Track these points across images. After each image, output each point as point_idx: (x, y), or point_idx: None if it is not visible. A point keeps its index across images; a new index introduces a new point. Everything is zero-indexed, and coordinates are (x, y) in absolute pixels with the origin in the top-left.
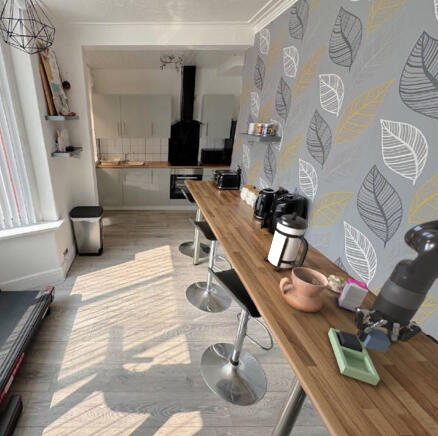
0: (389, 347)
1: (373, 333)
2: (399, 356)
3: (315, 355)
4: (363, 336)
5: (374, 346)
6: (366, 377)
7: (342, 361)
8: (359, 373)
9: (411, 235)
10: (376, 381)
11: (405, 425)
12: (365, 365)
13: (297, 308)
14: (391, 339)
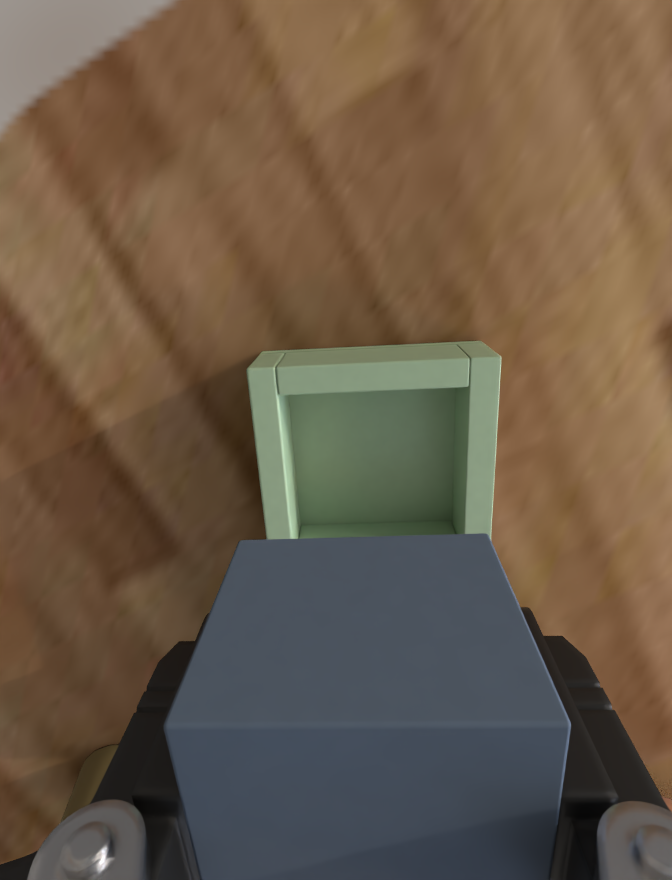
0: (168, 652)
1: (449, 845)
2: (68, 662)
3: (631, 428)
4: (571, 701)
5: (391, 576)
6: (332, 358)
7: (496, 418)
8: (387, 359)
9: None
10: (265, 358)
11: (145, 76)
12: (296, 489)
13: (670, 803)
14: (142, 830)
